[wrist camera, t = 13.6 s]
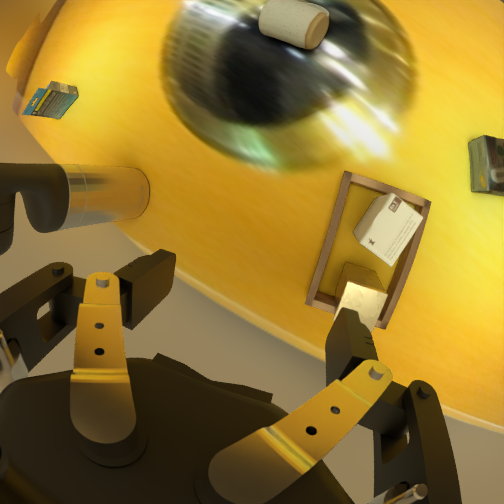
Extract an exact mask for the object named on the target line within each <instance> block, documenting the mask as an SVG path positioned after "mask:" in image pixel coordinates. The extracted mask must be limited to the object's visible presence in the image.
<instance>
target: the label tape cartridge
mask: <svg viewBox="0 0 504 504" xmlns="http://www.w3.org/2000/svg"><path fill="white" fill-rule="evenodd" d="M77 97H78V92H77V88H76V87H74V86H70V85H66V84H62V83H58V82H54V81H51V82H50V84H49V85H48V86H47V88H46V89H42V88H38V90H37V91H36V93H35V94H34V96H33V97H32V99H31V100H30V102H29V104H28V105H27V107H26V109H25V110H24V112H23V113H22V115H33V116H41V117H49V118H56V119H60V118H61V117H62V116H63V114H64V113H65V112H66V110H67V109H68V108H69V107H70V105H71V104H72V103H73V102H74V101H75V99H76V98H77ZM36 98H38V99H37V101H36V102H35V104H34V105H33V106H32V107H31V105H32V104H33V103H32V102H33V101H35V99H36Z"/></svg>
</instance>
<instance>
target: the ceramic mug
mask: <svg viewBox="0 0 504 504" xmlns="http://www.w3.org/2000/svg"><path fill="white" fill-rule="evenodd" d="M328 25H329V12H328V11H327V10H326V9H324V8H323V7H321V6H319V5H316V4H312V3H302V2H299V1H297V0H269V1H268V2H267V3H266V4H265V5H264V7H263V9H262V11H261V13H260V17H259V28H260V31H261V32H262V33H263V34H264V35H267V36H270V37H273V38H276V39H279V40H282V41H285V42H288V43H290V44H293V45H295V46H298V47H300V48H304V49H313V48H315V47H317V46H318V45H319V44H320V42H321V41H322V39H323V38H324V36H325V34H326V32H327V29H328Z"/></svg>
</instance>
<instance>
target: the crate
mask: <svg viewBox="0 0 504 504" xmlns="http://www.w3.org/2000/svg"><path fill="white" fill-rule="evenodd" d="M350 183H352V184H355V185H359V186H362V187H365V188H368V189H371V190H374V191H377V192H379V193H382V194H385V195H387V194H390V193H394V194H395V195H397V196H398V197H399V198H401V199H402V200H403V201H404V202H407V203H410V204H412V205H415V211H417V212H418V213H419V214H420V215H422V216H423V219H422V221H421V223H420V224H419V226H418V228H417V229H416V231H415V232H414V234H413V236H412V237H411V239H410V240H409V242H408V243H407V245H406V246H405V248H404V250H403V251H402V253H401V255H400V258H399V261H398V264H397V267H396V269H395V272H394V275H393V277H392V280H391V283H390V285H389V288H388V290H387V294H388V296H387V298H386V301H385V303H384V305H383V308H382V310H381V313H380V315H379V317H378V319H377V322H376V324H375V326H374V327H378V328H381V329H384V330H385V329H386V327H387V325H388V323H389V320H390V318H391V316H392V314H393V311H394V309H395V307H396V305H397V302H398V300H399V298H400V295H401V293H402V290H403V288H404V285H405V283H406V280H407V278H408V275H409V272H410V270H411V267H412V264H413V261H414V258H415V255H416V252H417V249H418V246H419V243H420V240H421V237H422V234H423V231H424V227H425V224H426V220H427V217H428V213H429V209H430V205H431V201H429V200H426V199H424V198H421V197H419V196H416V195H414V194H411V193H409V192H406V191H403V190H401V189H398V188H395V187H392V186H390V185H387V184H384V183H381V182H378V181H375V180H372V179H369V178H366V177H363V176H360V175H357V174H354V173H351V172H347V171H344V175H343V179H342V183H341V187H340V190H339V194H338V198H337V201H336V205H335V209H334V212H333V216H332V219H331V223H330V226H329V229H328V233H327V236H326V239H325V243H324V246H323V249H322V252H321V255H320V259H319V262H318V265H317V268H316V271H315V274H314V277H313V280H312V283H311V286H310V289H309V292H308V295H307V298H306V301H305V304H306V305H309V306H312V307H315V308H318V309H321V310H324V311H327V312H330V313H333V314H335V297H332V296H329V295H326V294H323V293H320V292H317V289H318V287H319V284H320V281H321V278H322V275H323V272H324V269H325V266H326V263H327V260H328V257H329V253H330V250H331V247H332V244H333V241H334V237H335V234H336V231H337V228H338V224H339V221H340V217H341V214H342V210H343V207H344V203H345V200H346V196H347V192H348V188H349V185H350Z"/></svg>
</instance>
